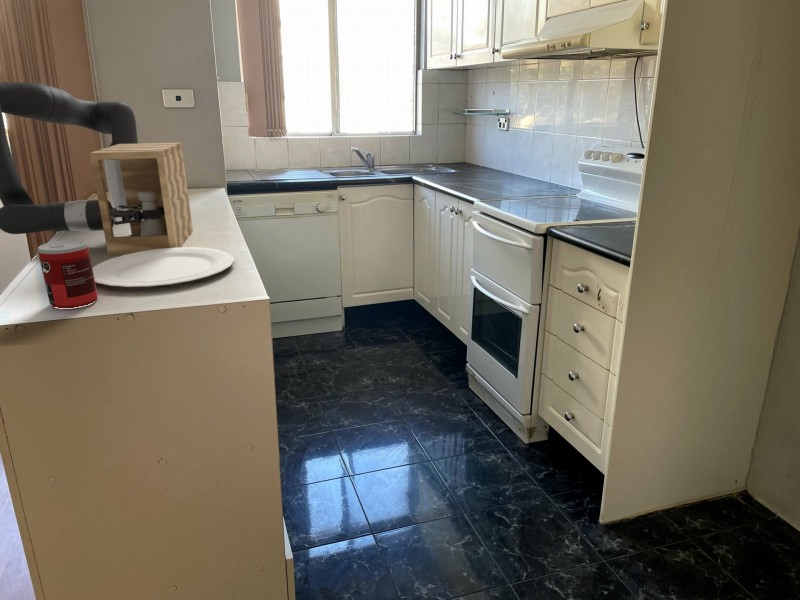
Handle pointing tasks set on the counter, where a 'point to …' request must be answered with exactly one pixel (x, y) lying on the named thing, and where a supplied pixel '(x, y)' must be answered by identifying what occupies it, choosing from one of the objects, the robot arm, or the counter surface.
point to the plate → (161, 267)
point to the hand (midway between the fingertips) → (162, 212)
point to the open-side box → (143, 172)
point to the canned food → (68, 273)
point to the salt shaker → (149, 224)
